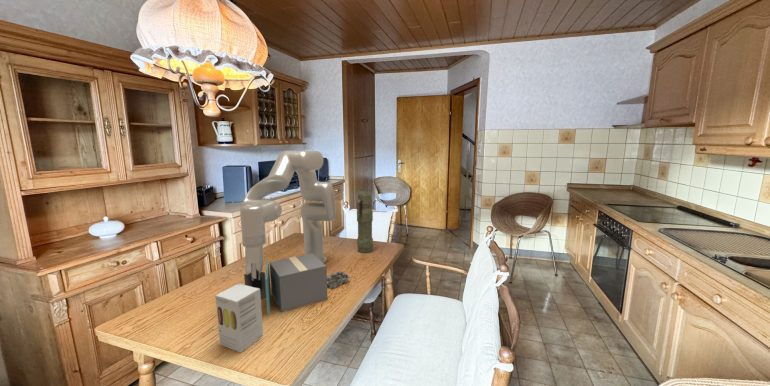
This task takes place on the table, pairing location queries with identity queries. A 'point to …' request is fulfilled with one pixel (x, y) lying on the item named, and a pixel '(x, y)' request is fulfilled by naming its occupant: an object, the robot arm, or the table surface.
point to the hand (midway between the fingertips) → (257, 288)
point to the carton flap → (266, 288)
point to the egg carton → (337, 279)
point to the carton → (298, 281)
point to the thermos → (364, 221)
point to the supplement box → (239, 317)
